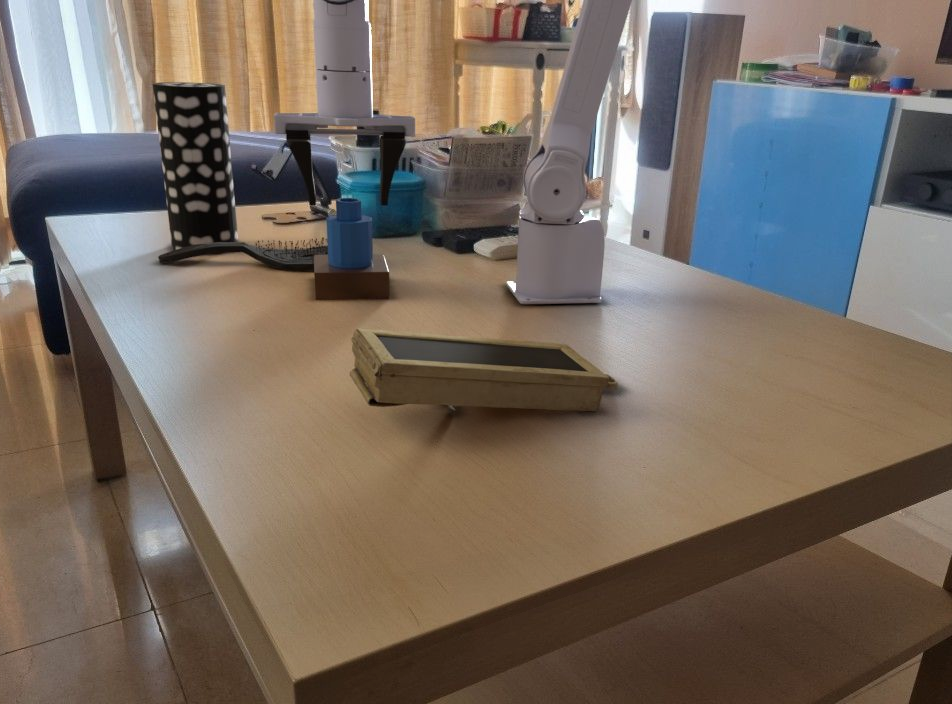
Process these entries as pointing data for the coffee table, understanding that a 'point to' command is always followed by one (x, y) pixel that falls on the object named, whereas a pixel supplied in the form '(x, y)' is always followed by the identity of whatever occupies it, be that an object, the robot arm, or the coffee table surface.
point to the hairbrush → (254, 254)
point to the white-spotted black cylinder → (196, 162)
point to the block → (351, 280)
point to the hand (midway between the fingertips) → (348, 203)
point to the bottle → (349, 235)
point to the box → (473, 372)
